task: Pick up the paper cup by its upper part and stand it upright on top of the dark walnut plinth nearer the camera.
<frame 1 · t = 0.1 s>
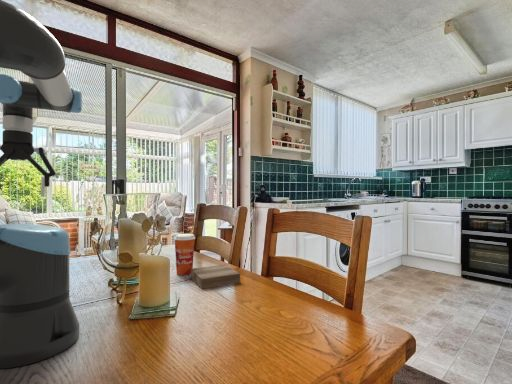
hand: (17, 196, 92), 28 cm above the table, fingers open, 13 cm apart
paper cup: (184, 273, 105), on the table
walnut plinth: (214, 280, 96), on the table
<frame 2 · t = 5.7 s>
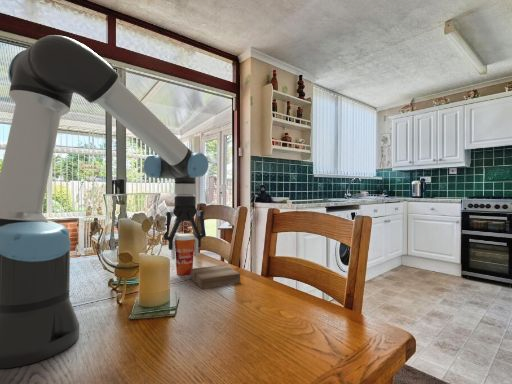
hand: (184, 257, 105), 6 cm above the table, fingers closed on paper cup, 8 cm apart
paper cup: (184, 273, 105), on the table, touching gripper
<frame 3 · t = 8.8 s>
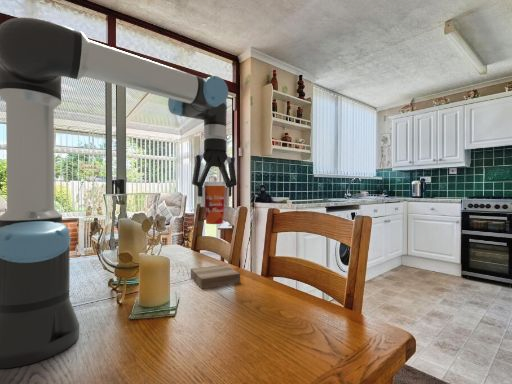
hand: (214, 206, 96), 25 cm above the table, fingers closed on paper cup, 8 cm apart
paper cup: (214, 223, 96), point 19 cm above the table, touching gripper
when the fingers open (10 cm above the table, at t = 11.9 s): paper cup stays where it is, resting on walnut plinth.
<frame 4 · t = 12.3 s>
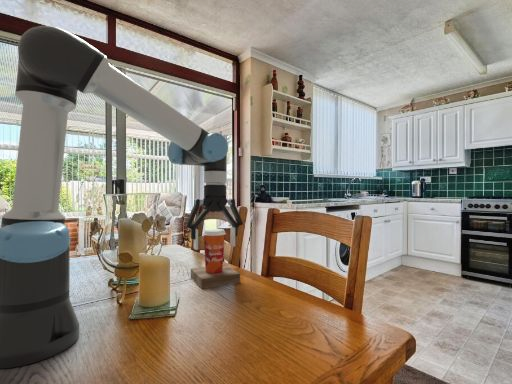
hand: (214, 247, 96), 11 cm above the table, fingers open, 12 cm apart
paper cup: (214, 271, 96), point 3 cm above the table, touching walnut plinth
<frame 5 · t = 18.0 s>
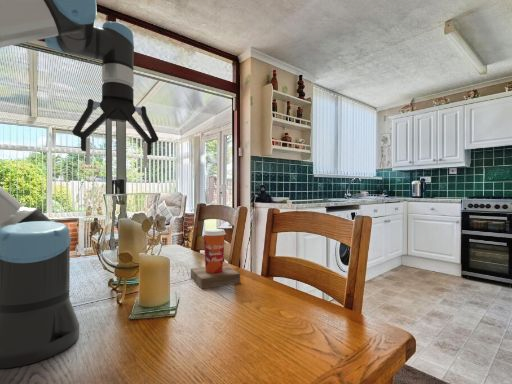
hand: (117, 165, 75), 37 cm above the table, fingers open, 13 cm apart
nothing on the table moved.
at the end: paper cup 0.1 cm off-centre on the walnut plinth, point 2.8 cm above the walnut plinth's base; paper cup tilted 0°; the gripper is holding nothing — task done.
